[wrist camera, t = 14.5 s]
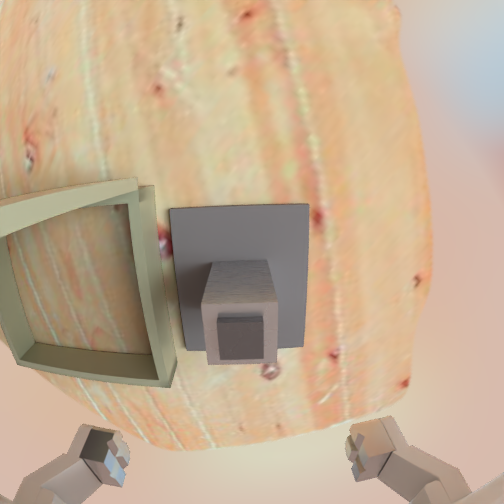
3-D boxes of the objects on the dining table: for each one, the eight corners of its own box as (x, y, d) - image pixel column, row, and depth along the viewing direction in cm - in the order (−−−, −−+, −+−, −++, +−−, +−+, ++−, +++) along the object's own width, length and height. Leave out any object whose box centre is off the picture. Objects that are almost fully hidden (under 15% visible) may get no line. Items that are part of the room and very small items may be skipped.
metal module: (216, 309, 23) (207, 370, 16) (213, 261, 22) (199, 309, 15) (267, 308, 23) (277, 368, 16) (267, 259, 22) (279, 307, 15)
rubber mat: (187, 347, 25) (186, 350, 24) (171, 208, 21) (169, 209, 21) (302, 343, 25) (303, 346, 24) (307, 203, 21) (309, 204, 21)
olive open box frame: (33, 347, 25) (-46, 444, 9) (-4, 199, 20) (-134, 247, 4) (177, 362, 25) (135, 527, 9) (153, 174, 20) (-27, 215, 5)
